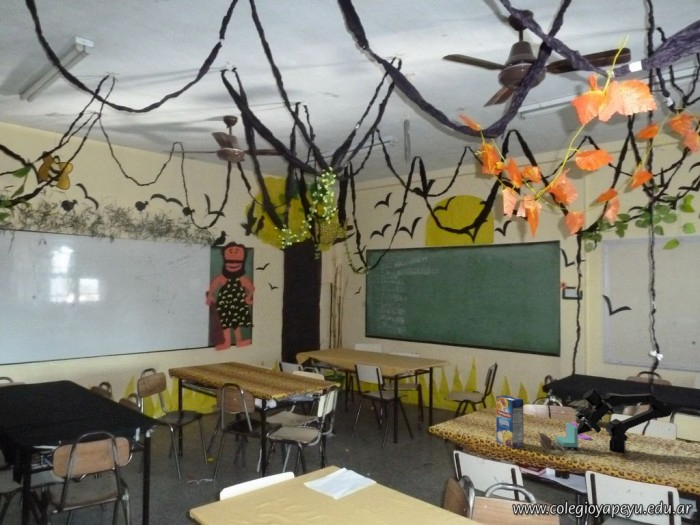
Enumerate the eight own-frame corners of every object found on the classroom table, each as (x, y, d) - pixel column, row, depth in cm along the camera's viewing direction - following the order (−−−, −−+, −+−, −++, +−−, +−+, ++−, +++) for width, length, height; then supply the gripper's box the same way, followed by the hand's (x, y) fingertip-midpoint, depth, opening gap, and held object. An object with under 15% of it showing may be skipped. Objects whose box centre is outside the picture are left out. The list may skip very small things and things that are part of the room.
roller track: (573, 445, 265) (573, 434, 265) (583, 453, 252) (583, 441, 252) (538, 444, 266) (538, 432, 266) (546, 452, 253) (546, 439, 253)
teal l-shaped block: (569, 440, 264) (569, 422, 265) (577, 447, 253) (577, 428, 254) (555, 440, 265) (555, 422, 265) (563, 446, 254) (563, 427, 254)
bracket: (565, 435, 286) (565, 422, 286) (572, 433, 289) (571, 421, 289) (587, 441, 275) (586, 427, 275) (593, 439, 278) (593, 426, 278)
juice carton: (496, 442, 269) (496, 396, 271) (507, 440, 272) (507, 395, 274) (512, 448, 258) (512, 400, 260) (523, 446, 262) (523, 399, 263)
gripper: (579, 397, 269) (558, 417, 269) (594, 404, 250) (571, 426, 250) (594, 413, 268) (573, 433, 268) (610, 421, 249) (587, 443, 249)
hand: (575, 433), depth 259 cm, fingers closed
